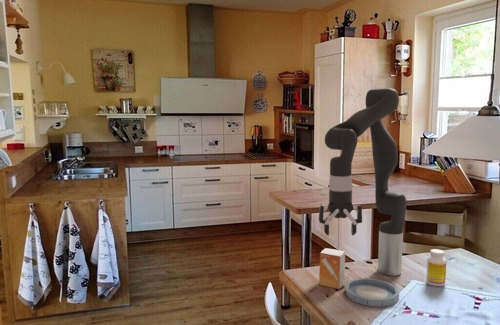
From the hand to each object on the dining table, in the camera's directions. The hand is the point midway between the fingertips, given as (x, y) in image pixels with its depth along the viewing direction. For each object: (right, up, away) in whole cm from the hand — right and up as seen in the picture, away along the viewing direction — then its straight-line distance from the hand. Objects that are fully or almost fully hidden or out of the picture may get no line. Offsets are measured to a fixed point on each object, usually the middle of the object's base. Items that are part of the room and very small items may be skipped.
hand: (340, 234), depth 139 cm
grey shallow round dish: (+13, -23, +8) cm, 28 cm away
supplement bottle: (+41, -22, +18) cm, 50 cm away
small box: (+1, -22, +17) cm, 28 cm away
